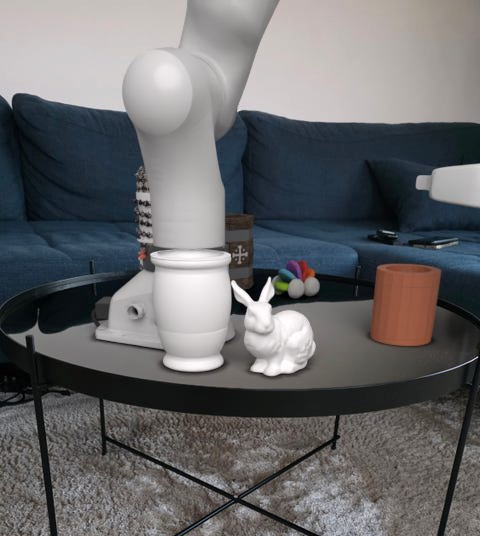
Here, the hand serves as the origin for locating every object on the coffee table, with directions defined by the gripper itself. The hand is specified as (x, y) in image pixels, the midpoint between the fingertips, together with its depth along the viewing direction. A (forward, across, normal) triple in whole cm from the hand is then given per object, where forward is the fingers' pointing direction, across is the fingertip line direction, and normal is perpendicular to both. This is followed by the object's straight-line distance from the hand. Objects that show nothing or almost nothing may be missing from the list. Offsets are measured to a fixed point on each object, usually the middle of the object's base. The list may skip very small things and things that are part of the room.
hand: (437, 181), depth 84 cm
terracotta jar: (+3, 0, +24) cm, 24 cm away
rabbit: (+5, +27, +24) cm, 36 cm away
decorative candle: (+50, +14, +24) cm, 57 cm away
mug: (+56, -4, +24) cm, 61 cm away
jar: (+14, +34, +24) cm, 44 cm away
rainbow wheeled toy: (+37, -11, +24) cm, 45 cm away
